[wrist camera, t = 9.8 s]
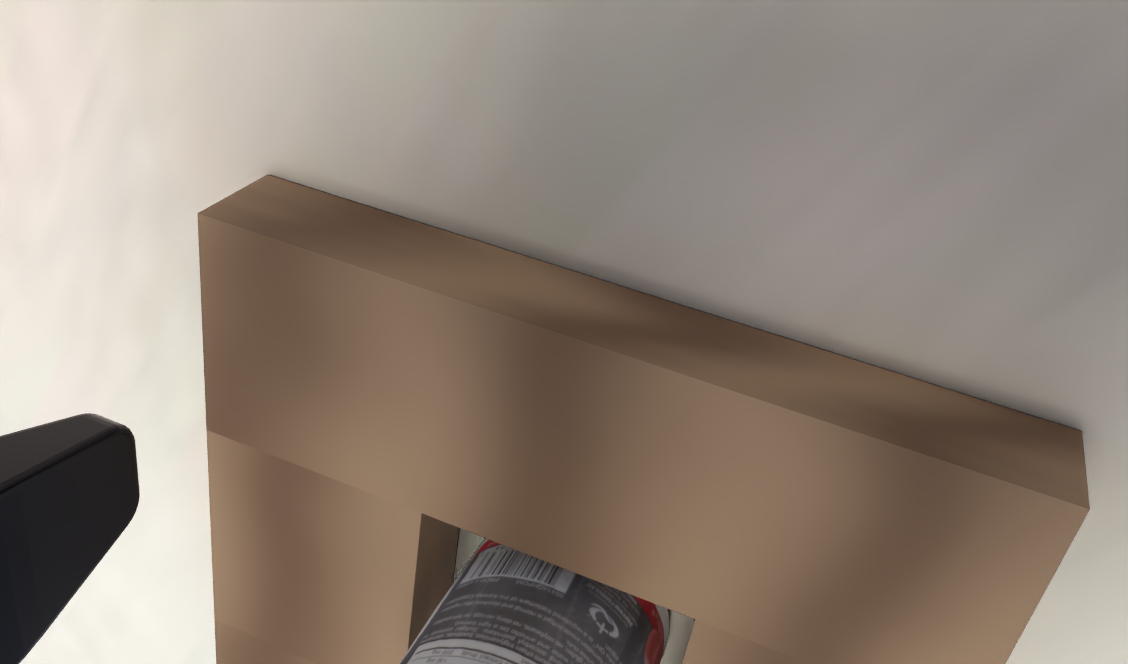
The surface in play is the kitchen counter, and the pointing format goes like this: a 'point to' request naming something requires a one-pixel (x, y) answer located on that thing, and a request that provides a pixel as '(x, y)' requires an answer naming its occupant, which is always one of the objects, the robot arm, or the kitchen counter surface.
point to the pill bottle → (537, 617)
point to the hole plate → (588, 456)
